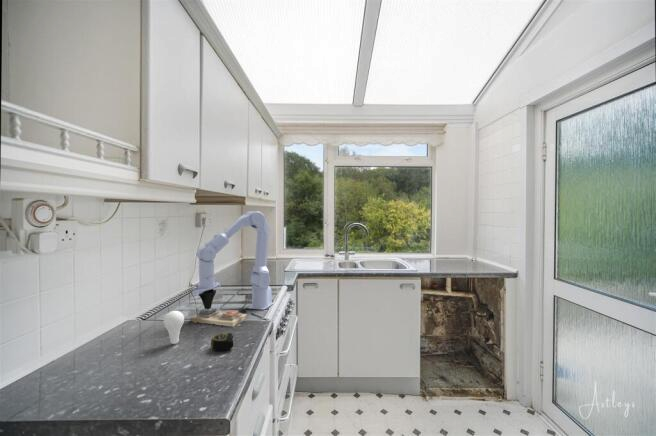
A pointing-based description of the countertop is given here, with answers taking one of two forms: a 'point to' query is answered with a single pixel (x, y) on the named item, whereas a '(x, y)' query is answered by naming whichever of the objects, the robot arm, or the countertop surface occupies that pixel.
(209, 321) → the button mount
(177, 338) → the lightbulb
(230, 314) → the button terracotta
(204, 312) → the button charcoal
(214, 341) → the tape measure
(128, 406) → the countertop surface
